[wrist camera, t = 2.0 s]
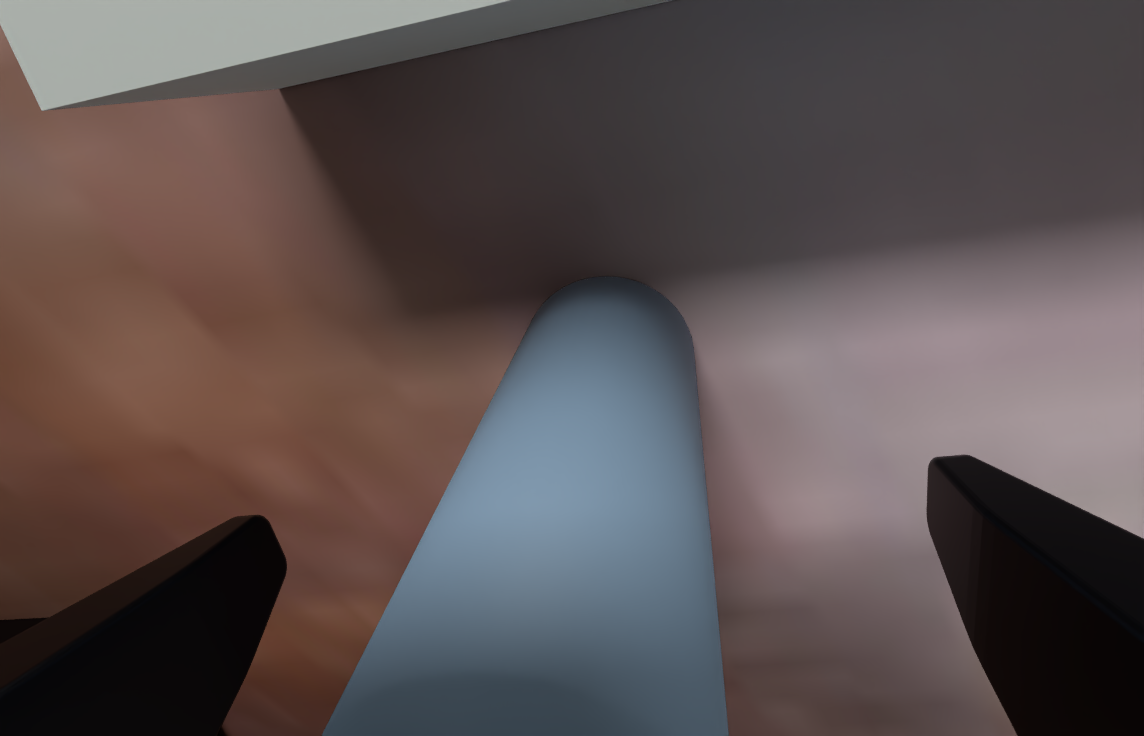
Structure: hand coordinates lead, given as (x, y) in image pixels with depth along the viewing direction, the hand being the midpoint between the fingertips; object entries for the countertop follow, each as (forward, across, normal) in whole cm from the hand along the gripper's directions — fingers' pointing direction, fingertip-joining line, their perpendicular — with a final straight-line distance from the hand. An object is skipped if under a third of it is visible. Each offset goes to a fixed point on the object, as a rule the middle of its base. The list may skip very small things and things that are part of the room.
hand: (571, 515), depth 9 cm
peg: (+5, 0, 0) cm, 5 cm away
